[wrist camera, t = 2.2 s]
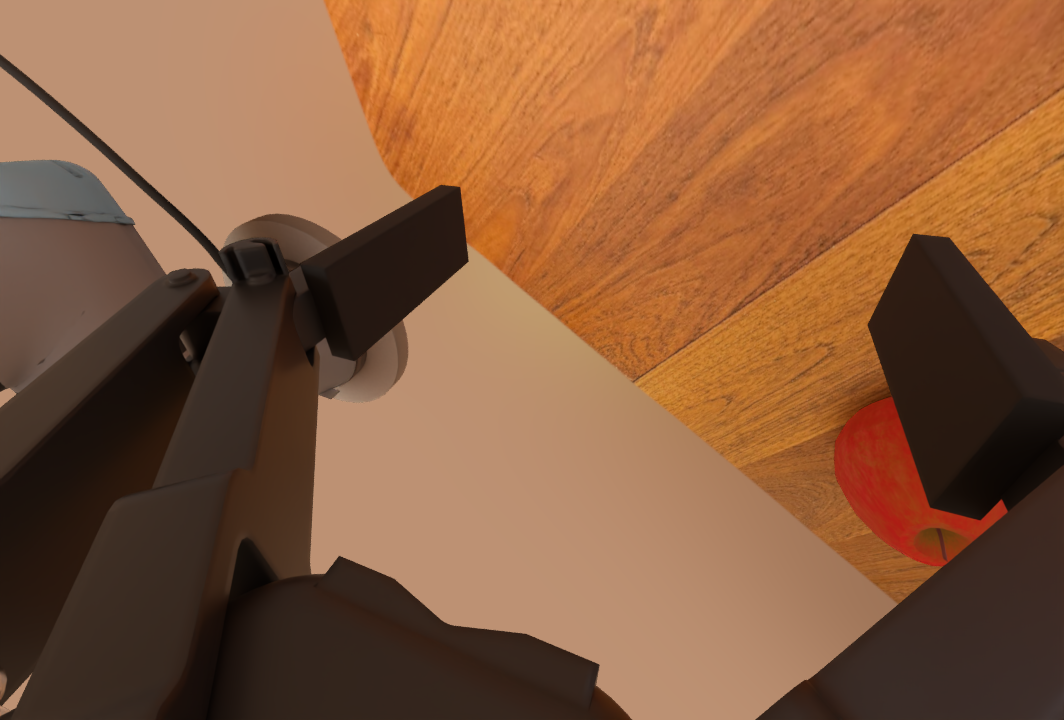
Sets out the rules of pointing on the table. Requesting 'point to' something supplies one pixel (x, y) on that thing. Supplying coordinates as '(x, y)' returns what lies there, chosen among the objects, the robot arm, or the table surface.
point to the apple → (898, 489)
